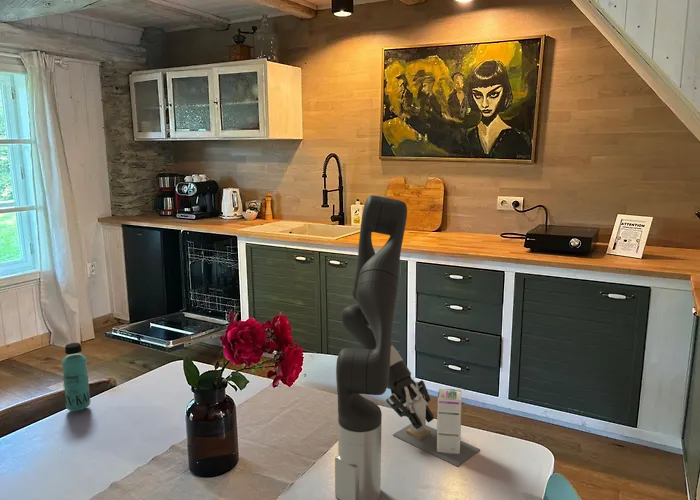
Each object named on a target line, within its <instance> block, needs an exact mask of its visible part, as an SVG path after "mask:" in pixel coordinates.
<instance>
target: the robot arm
mask: <svg viewBox="0 0 700 500" xmlns="http://www.w3.org/2000/svg"><path fill="white" fill-rule="evenodd" d="M407 218H408V207H407V204H406V202H405V201H403V200H400V199H395V198H391V197H385V196H380V195H369V196H368V197H367V198H366V200H365V203H364V206H363V209H362V215H361V222H360V230H359V237H358V238H359V241H358V249H357V250H358V251H357V252H358V253H357V263H356V271H355V275H354V280H353V286H352V290H351V291H352V292H351V294H352V297H353V299H354V300H356V302H357V303H354V304H352V305H349V306H347V307H344V309H342V311H341V314H340V318H341V323H342V325H343V327H344V329H345V331H347V332H348V333H349V334H350V335H351V336H352V337H353V339H355V341H357V342H358V343H359V344H360V345H361V346H362V347H363V348H356V347H344V348H342V349H341V350H340V351H339V353H338V355H337V358H336V365H335V366H336V368H335V372H336V373H335V374H336V375H335V376H336V379H335V380H336V390H337V391H336V392H337V393H336V394H337V414H338V416H337V419H338V420H337V421H338V422H337V425H338V427H337V429H338V431H337V432H338V433H337V434H338V435H337V440H338V441H337V442H338V443H337V445H338V446H337V447H338V448H337V450H338V451H337V452H338V454H337V456H335V457H334V486H335V487H334V492H335V493H334V497H335V498H337V499H338V500H379V499H380V498H381V489H382V488H381V486H382V485H381V484H382V483H381V481H382V480H381V479H382V477H381V475H382V473H381V472H382V413H383V412H382V410H381V407H380V406H379V405H378V404H377V403H375V402H374V401H372V400H370V399H368V398H366V397H364V396H362V395H367V396H369V395H371V396H382V395H383V394H385V392H386V391H387V389H388V390H390V392H391V393H390V394H391V395H390V396H389V397H387V398H386V403H387V404H388V406H390V407H391V409H393V410H394V412H395V413H396V414H397V415H398V416H399V417H400V418H402V417H407V418H408V420H409V421H410V424H412V425H413V426H414V427H415V428H416V429H418V428H420V427H422V423H421V421H420V420H419V418H418V416H417V415H416V413H414V410H413V407H412V401H414V400H423V401H425V402H426V420H425V421H426V422H427V423H430V422H432V421H433V420H434V419H435V417H434V413H432V411H431V409H430V407H429V406H428V404H429V402H431V397H430V394H429V392H428V389H427V387H426V384H425V381H424V380H423V379H422V380H420V381H415V380H413V378H412V373H411V371H410V369H409V368H408V366H407V365H406V363H405V361H404V359H403V358H402V356H401V355H400V353H399V352H398V350H397V349H396V348H395V346H393V344H392V331H393V322H394V313H395V308H396V302H397V301H396V300H397V295H398V287H399V275H400V265H401V264H400V262H401V253H402V252H401V251H402V246H403V242H404V235H405V231H406V230H405V229H406V223H407ZM372 233H376V234H381V235H385V236H389V238H388V239H387V241H386V242H385V243H384V245H383V246H382V247H381V248H380V249H379V250H378V251H377V252H376V251H375V248H374V245H373V241H372V235H373V234H372Z"/></svg>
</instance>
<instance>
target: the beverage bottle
mask: <svg viewBox="0 0 700 500" xmlns="http://www.w3.org/2000/svg"><path fill="white" fill-rule="evenodd" d="M82 351H83V350H82V344H81V343H79V342H71V343H68V344H66V345H65V347H64V353H65V354H66V356H65V357H63V359H62V360H61V364H62V365H61V366H62V373H63V376H62V380H63V390H64V391H63V392H64V403H65V408H66V409H67V410H68V411H72V412H74V411H75V412H76V411H81V410H83V409H86V408H88V407H89V406H90V404H91V392H90V380H89V373H88V364H87V363H88V362H87V356H85V355H84V354H82V353H81V352H82Z"/></svg>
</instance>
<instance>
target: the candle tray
mask: <svg viewBox="0 0 700 500" xmlns="http://www.w3.org/2000/svg"><path fill="white" fill-rule="evenodd" d="M412 407H413V410H414V413H416V415H417V416H418V418H419V420H420V421H421V423H422V427H420V428H418V429H416V428H415V427H414V426H413V425H412V423H410V424H408V425H406V426H405V427H404V428H402V429H399V430H398V431H396V432H394V433H393V434H392V436H393V437H394V438H396V439H398V440H401V441H403V442H405V443H408V444H409V445H412V446H414V447H416V448H418V449H419V450H422V451H424V452H427V453H428V454H430V455H432V456H435V458H438V459H440V460H442V461H444V462H447V463H449V464H451V465H453V466H455V467H459V466H461V465H462V464H463V463H465V462H466V461H468V460H469V459H470V458H471V457H473V456H474V455H476V453H478V452H479V451H480V450H481V448H479V447H476V446H474V445H472V444H469V443H468V442H466V441H463V440H460V453H459V454H450V453H442V452H437V428H434V427H431V426H429V425H426V421H427V420H426V402H425V401H423V400H414V401H412Z"/></svg>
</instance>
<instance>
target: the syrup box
mask: <svg viewBox="0 0 700 500" xmlns="http://www.w3.org/2000/svg"><path fill="white" fill-rule="evenodd" d="M436 409H437V410H436V411H437V412H436V413H437V415H436V416H437V417H436V423H437V424H436V430H437V452H442V453H450V454H459V453H460V440H461V439H462V438H461V434H462V433H461V432H462V390H459V389H455V388H454V389H453V388H452V389H451V388H439V389H438V394H437V408H436ZM461 441H462V440H461Z"/></svg>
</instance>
